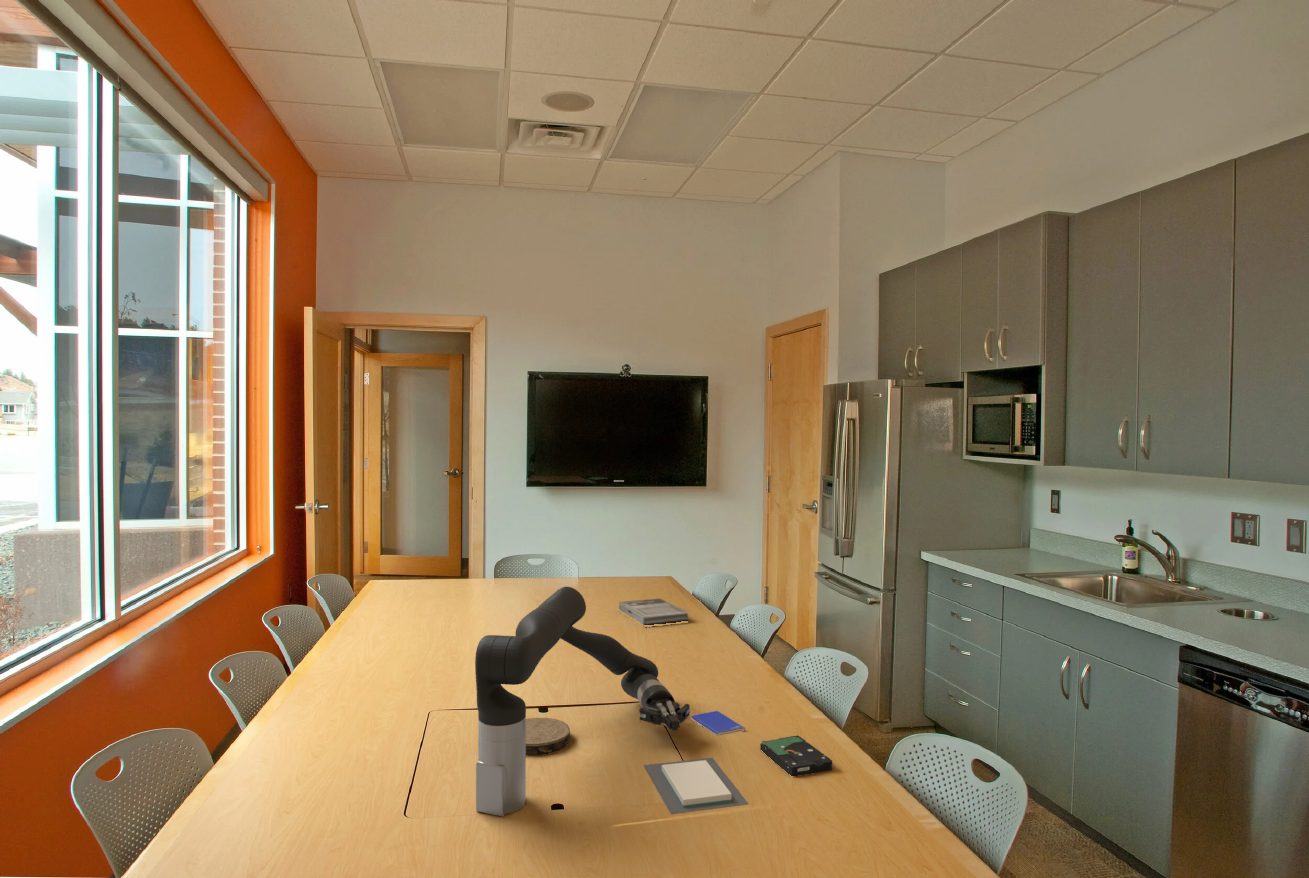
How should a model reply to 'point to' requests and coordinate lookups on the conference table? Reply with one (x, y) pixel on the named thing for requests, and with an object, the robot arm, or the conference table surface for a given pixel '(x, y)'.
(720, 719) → the hard drive
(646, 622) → the hard drive
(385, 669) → the conference table surface
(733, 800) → the mat
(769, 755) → the disk drive
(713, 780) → the tile
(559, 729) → the brown round disc
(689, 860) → the conference table surface
